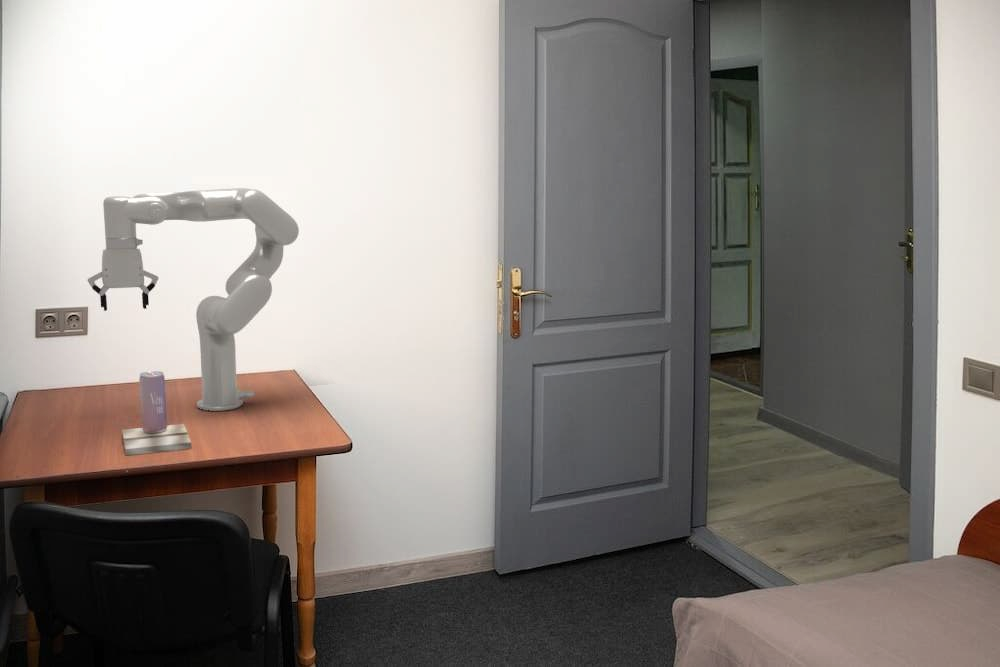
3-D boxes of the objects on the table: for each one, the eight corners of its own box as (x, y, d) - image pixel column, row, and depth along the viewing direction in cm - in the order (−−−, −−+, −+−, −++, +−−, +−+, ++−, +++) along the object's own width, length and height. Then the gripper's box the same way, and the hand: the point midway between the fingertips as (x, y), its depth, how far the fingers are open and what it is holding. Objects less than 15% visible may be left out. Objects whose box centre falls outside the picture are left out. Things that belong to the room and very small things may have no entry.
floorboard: (187, 439, 237) (187, 433, 237) (191, 448, 230) (191, 442, 230) (124, 445, 231) (123, 439, 231) (125, 455, 224) (125, 449, 224)
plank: (183, 429, 246) (183, 423, 245) (187, 438, 238) (187, 432, 238) (122, 435, 239) (122, 429, 239) (124, 444, 232) (123, 438, 232)
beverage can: (162, 425, 243) (159, 369, 240) (170, 431, 238) (167, 374, 235) (139, 429, 239) (135, 372, 236) (147, 435, 235) (143, 377, 232)
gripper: (155, 242, 251) (158, 305, 255) (85, 243, 244) (89, 308, 248) (157, 245, 245) (161, 309, 248) (85, 246, 238) (89, 313, 241)
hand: (125, 309), depth 248 cm, fingers open, 9 cm apart
